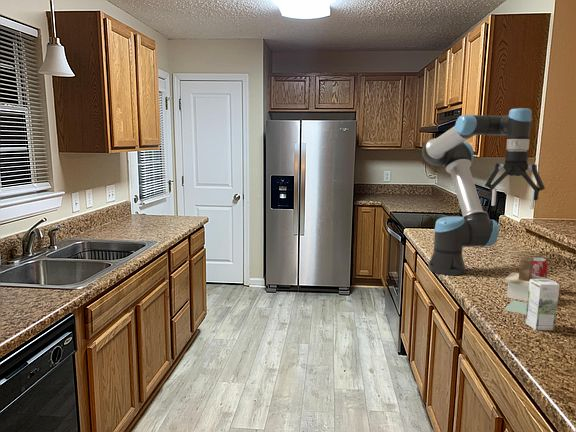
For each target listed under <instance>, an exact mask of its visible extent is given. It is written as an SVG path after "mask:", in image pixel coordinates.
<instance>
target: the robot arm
mask: <svg viewBox="0 0 576 432" xmlns="http://www.w3.org/2000/svg"><path fill="white" fill-rule="evenodd" d="M532 115H533V113H532V109H531V108H527V107H519V108H511V109H510V110H509V112H508V115H479V114H478V115H477V114H464V115H460V116H458V117H457V119H456V121H455V124H454V126H452V127H451V128H449V129H448V130H446V131H445V132H444V133H442V134H440V135H439V136H438V137H436V138H434V137H433V138H431V139H429V140H428V141H426V142H425V144H424V145H423V146H422V150H421V153H422V154H421V155H422V157H423V159H424V160H425V162H427V164H430V165H432V166H438V167H439V166H440V167H442V166H443V167H444V168H445V171H446V173H448V174H450V177H451V181H452V183H453V187H454V190H455V193H456V198H457V201H458V204H459V207H460V210H461V214H462V216H459V215H458V216H457V215H456V216H452V215H451V216H442V217H440V218H438V219H437V220H436V221H435V224H434V225H435V226H434V238H433V239H434V241H433V252H432V254H431V258H430V260H429V262H428V270H429V271H430V272H431V273H434V274H439V275H445V276H446V275H447V276H459V275H464V274H465V273H466V265H465V264H466V263H465V261H464V258H463V257H464V256H463V248H471V247H472V248H474V247H475V248H477V247H480V248H484V247H492V246H493V245H494V244H496V242H497V240H498V237H499V234H500V233H499V231H500V228H499V225H498V222H497V220H495V219H493V218H492V219H490V216H489V213H488V212H487V211H484V210H483V206H482V203H481V199H480V197H479V194H478V191H477V188H476V185H475V182H474V178H473V175H472V171H471V169H470V168H471V166H472V163H473V162H474V159H475V158H474V157H475V156H474V155H475V153H474V148H473V146H472V145H471V144H470V143H469V142H467V140H469V139H471V138H473V137H474V136H495V137H501V136H506V148H505V149H506V150H507V151H506V152H505V158H504V159H505V160H504V163H499V162H498V163H496V164H495V167H494V170H492V171H493V172H491V174H490V176H489V178H488V179H487V181H486V182H485V185H484V186H485V187H487V188H489V198H491V205H490V206H492V207H493V206H496V201H497V188H496V187H497V186H498V185H499V184H500V183H501V182H502V181H504V179H505V178H506V177H507V176H510V177H513V176H516V177H520V176H522V177H523V179H524V180H525V181H526V182H527V184H528V185H529V187H531V189H532V190H533V191H531V198H530V205H529V206H530V207H529V209H530V210H534V209H535V203H536V202H535V201H538V199H539V193H540V191H544V190H545V189H546V187H545V185H544V183H543V181H542V179H541V176H540V174H539V171H538V165H537V163H535V164H534V163H533V164H528V161H529V160H528V159H529V152H528V151H529V148H530V137H531V127H532V121H533V118H532ZM502 169H504V172H503V173H501V175H500V176H499V177H498V178H497V179H496V180H495V181H494V179H495V178H496V177H497V175H498V173H499V172H500V170H502ZM528 169H529V170H530V171H531V172H532V175H533V177H534V179H535V182H536V183H537V184H536V183H535V182H534V181H533V180H532V178H531V176H529V174H528V173H527V172H526V171H528ZM493 181H494V182H493ZM492 182H493V183H492ZM537 185H538V186H537Z"/></svg>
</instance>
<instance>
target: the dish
mask: <svg viewBox="0 0 576 432" xmlns="http://www.w3.org/2000/svg"><path fill="white" fill-rule="evenodd" d="M528 291H529V286H524V285H519V284H513V283H508V282H507V291H506V297H507V298H511V299H513V300H514V299H515V300H520V301H524V302H527V300H528Z"/></svg>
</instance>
